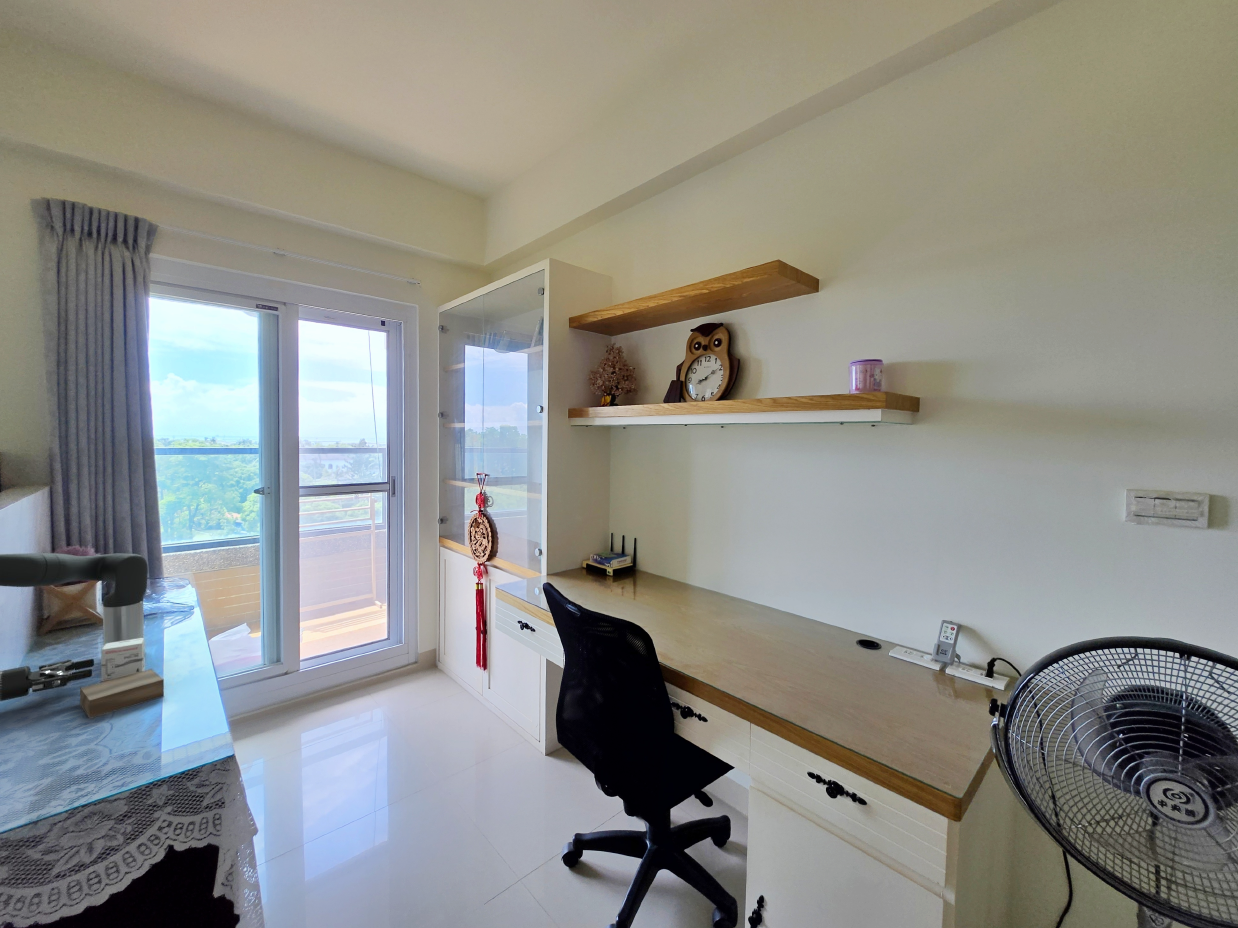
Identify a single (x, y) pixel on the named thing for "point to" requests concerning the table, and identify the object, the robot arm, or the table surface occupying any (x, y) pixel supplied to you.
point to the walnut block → (121, 693)
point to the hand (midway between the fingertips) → (93, 667)
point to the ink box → (122, 658)
